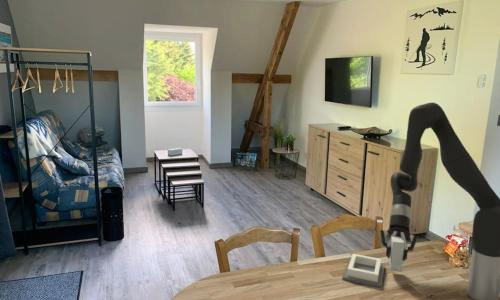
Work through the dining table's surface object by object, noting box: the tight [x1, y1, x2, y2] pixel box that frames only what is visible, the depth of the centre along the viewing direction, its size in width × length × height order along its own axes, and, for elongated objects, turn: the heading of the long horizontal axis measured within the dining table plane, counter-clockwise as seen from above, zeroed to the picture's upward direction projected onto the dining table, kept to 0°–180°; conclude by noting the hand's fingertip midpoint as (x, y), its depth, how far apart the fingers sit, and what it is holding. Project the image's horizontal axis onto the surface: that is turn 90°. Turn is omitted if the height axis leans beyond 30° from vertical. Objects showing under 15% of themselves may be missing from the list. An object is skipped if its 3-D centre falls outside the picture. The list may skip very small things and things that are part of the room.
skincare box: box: [388, 236, 404, 273], centre depth 148 cm, size 6×4×12 cm
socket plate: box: [341, 253, 386, 288], centre depth 149 cm, size 14×16×4 cm
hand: (396, 258), depth 145 cm, fingers closed on skincare box, 4 cm apart
